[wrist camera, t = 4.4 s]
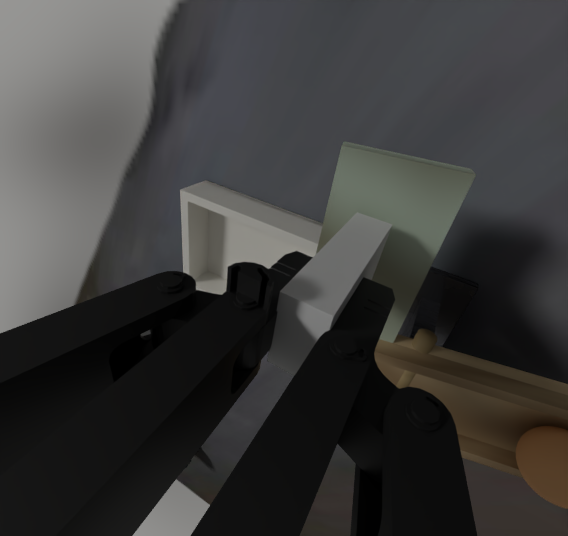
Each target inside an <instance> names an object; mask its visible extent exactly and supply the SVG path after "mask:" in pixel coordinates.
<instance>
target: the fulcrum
mask: <svg viewBox="0 0 568 536" xmlns="http://www.w3.org/2000/svg"><path fill="white" fill-rule="evenodd" d="M477 290H478V284H476V283H474V282H471V281H468V280H466V279H463V278H460V277H457V276H455V275H452V274H449V273H447V272H444V271H441V270H439V269H436V268H433V267H430V269H429V271H428V273H427V275H426V277H425V279H424V281H423V283H422V286H421V288H420V290H419V292H418V294H417V296H416V298H415V300H414V302H413V304H412V306H411V308H410V310H409V312H408V314H407V316H406V318H405V320H404V322H403V324H402V326H401V328H400V330H399V332H398V334H399V335H402V336H406V337H409V338H413V339H414V337H415V335H416V334H417V332H418V330H419V329H428V330H430V331H432V332H433V333H434V334H435V335H436V336H437V339H438V340H437V342H436V344H435V345H436V346H440V347H442V346H443V344H444V342H445V341H446V339H447V338H448V336H449V334H450V333H451V331H452V330H453V328H454V326H455V325H456V323H457V322H458V320H459V318H460V317H461V315H462V314H463V312H464V310H465V309H466V307H467V306H468V304H469V302H470V301H471V299H472V298H473V296H474V294H475V293H476V291H477Z"/></svg>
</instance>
